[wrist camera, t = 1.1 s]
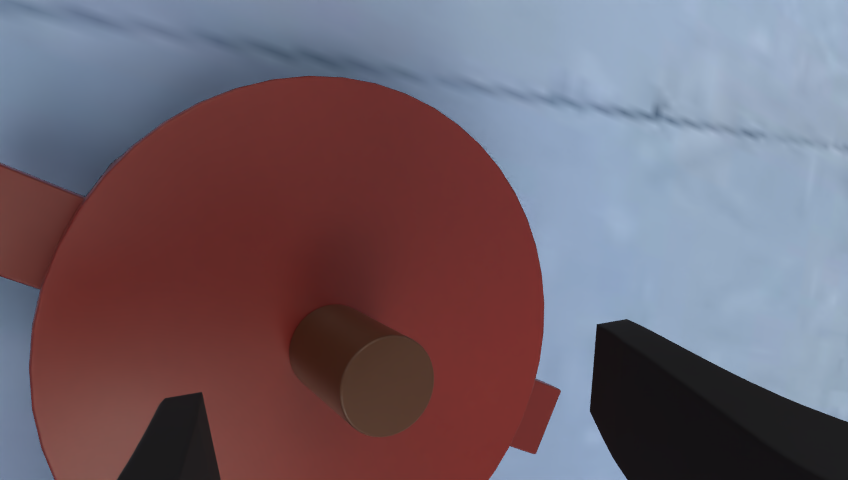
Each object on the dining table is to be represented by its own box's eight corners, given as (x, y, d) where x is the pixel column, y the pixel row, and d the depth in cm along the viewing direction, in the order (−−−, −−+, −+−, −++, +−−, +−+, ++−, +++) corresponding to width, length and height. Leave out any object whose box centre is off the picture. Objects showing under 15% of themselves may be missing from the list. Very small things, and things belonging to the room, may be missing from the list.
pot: (411, 541, 29) (486, 619, 24) (-142, 415, 20) (-194, 502, 15) (538, 230, 30) (634, 248, 25) (70, -23, 21) (84, -69, 16)
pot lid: (419, 615, 24) (501, 715, 20) (-82, 531, 17) (-116, 659, 13) (584, 207, 25) (695, 221, 21) (182, -29, 18) (229, -78, 14)
